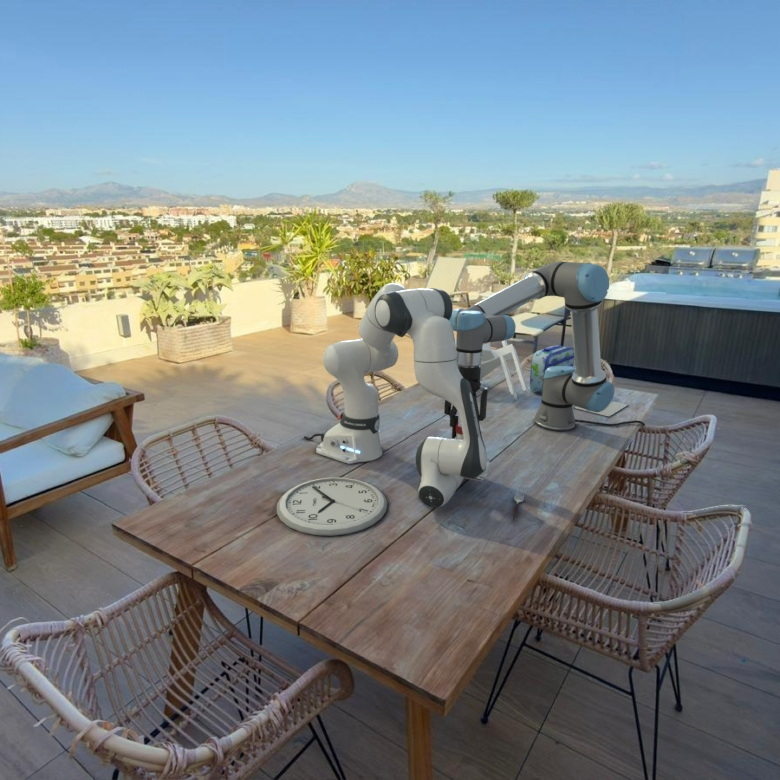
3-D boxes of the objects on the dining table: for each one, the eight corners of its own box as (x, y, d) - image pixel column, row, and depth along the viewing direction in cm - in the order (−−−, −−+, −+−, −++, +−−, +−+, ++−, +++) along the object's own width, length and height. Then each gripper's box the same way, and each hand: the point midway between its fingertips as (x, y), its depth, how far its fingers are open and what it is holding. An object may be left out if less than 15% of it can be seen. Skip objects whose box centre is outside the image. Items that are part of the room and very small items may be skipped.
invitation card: (608, 416, 214) (573, 407, 224) (608, 416, 214) (573, 408, 224) (628, 404, 229) (594, 396, 238) (628, 405, 229) (594, 397, 238)
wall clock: (392, 527, 129) (268, 531, 127) (391, 533, 130) (269, 537, 127) (383, 473, 158) (282, 475, 155) (383, 478, 158) (282, 480, 156)
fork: (507, 521, 136) (508, 514, 136) (515, 493, 151) (516, 487, 150) (517, 523, 135) (518, 516, 135) (524, 495, 150) (525, 488, 149)
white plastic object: (461, 429, 252) (437, 405, 227) (444, 352, 274) (420, 323, 250) (535, 404, 240) (518, 377, 215) (510, 326, 262) (492, 293, 237)
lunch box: (546, 398, 236) (551, 353, 229) (525, 393, 243) (529, 349, 237) (573, 387, 253) (579, 344, 247) (553, 382, 260) (558, 341, 254)
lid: (465, 436, 155) (466, 428, 154) (451, 431, 158) (452, 424, 158) (475, 431, 159) (476, 424, 158) (461, 427, 162) (462, 419, 161)
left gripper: (485, 469, 145) (497, 451, 157) (416, 456, 152) (432, 439, 165) (484, 490, 146) (495, 470, 159) (416, 475, 154) (431, 458, 166)
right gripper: (501, 366, 151) (495, 440, 158) (444, 358, 159) (440, 429, 166) (494, 372, 145) (487, 449, 152) (434, 363, 153) (431, 437, 160)
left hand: (462, 454), depth 162 cm, fingers closed on jar, 4 cm apart
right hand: (463, 438), depth 159 cm, fingers closed on lid, 5 cm apart
